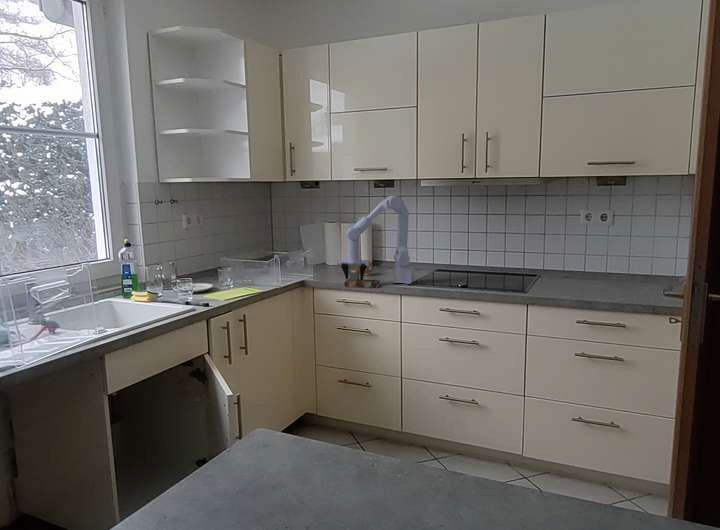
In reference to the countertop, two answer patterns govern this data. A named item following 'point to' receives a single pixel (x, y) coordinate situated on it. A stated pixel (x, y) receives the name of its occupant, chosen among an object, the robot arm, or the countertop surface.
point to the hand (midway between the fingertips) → (354, 279)
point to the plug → (354, 275)
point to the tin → (356, 267)
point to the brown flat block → (362, 283)
